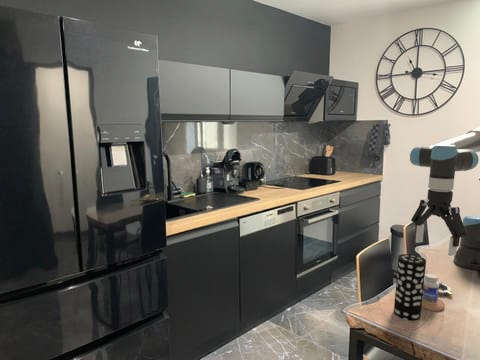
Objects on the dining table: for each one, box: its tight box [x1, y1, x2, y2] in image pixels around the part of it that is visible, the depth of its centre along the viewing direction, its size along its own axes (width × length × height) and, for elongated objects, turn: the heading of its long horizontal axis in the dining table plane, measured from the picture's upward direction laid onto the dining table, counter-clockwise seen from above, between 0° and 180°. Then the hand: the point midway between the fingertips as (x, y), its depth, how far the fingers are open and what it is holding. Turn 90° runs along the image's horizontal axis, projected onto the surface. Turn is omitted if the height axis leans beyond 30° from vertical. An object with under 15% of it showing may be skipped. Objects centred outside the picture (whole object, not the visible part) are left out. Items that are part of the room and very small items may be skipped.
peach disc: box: [422, 298, 446, 312], centre depth 126 cm, size 10×10×1 cm
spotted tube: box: [393, 253, 427, 322], centre depth 117 cm, size 8×8×20 cm
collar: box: [437, 281, 453, 299], centre depth 136 cm, size 9×12×2 cm
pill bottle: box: [422, 273, 440, 305], centre depth 125 cm, size 5×5×10 cm
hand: (434, 248), depth 124 cm, fingers open, 13 cm apart
